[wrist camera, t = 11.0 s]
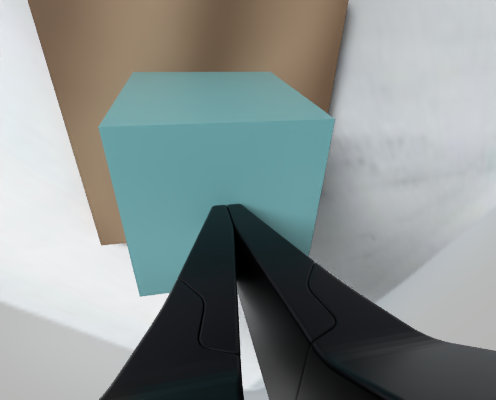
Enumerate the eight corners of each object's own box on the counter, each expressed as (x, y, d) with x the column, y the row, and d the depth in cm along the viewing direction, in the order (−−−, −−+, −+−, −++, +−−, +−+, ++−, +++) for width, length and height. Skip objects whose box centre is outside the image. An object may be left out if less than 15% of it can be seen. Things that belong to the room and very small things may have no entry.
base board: (339, -9, 13) (350, -10, 12) (302, 216, 20) (307, 225, 19) (30, -26, 11) (19, -29, 10) (104, 233, 17) (101, 245, 17)
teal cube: (270, 71, 13) (334, 119, 8) (262, 185, 16) (305, 274, 11) (133, 72, 12) (98, 127, 7) (152, 193, 15) (140, 296, 10)
